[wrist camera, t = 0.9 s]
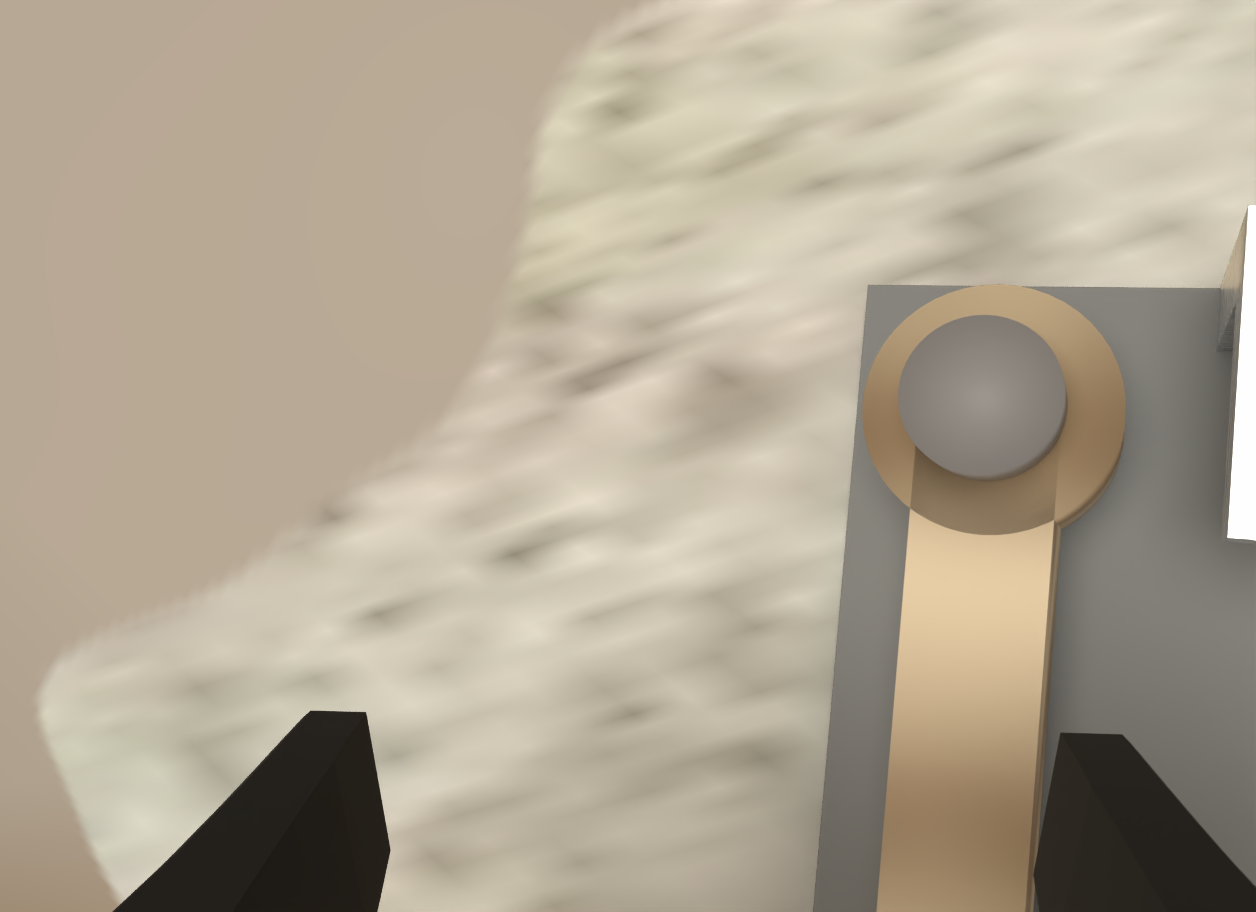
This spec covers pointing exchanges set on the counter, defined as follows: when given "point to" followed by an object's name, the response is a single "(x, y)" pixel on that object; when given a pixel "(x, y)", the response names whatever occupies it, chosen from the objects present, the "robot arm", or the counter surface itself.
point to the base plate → (1064, 561)
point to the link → (981, 618)
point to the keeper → (1240, 384)
